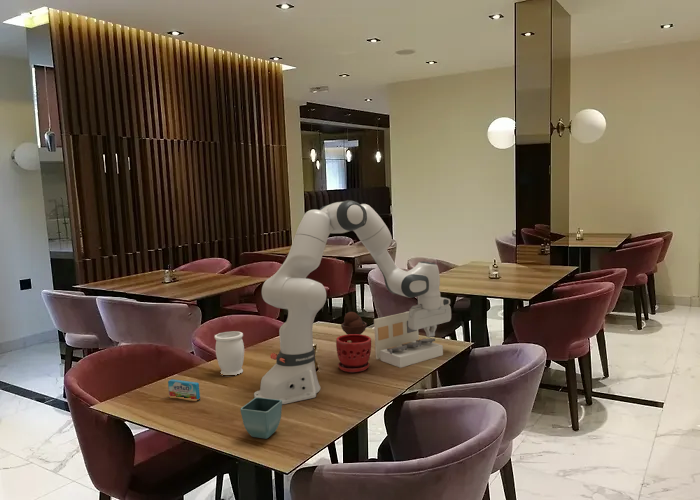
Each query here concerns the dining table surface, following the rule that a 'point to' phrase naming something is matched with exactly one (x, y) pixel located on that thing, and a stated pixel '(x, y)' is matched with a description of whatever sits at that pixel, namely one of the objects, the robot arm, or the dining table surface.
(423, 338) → the switch far
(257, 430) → the flower pot
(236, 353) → the jar
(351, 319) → the ice cream bowl
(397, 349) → the switch near
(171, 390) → the blue printed box
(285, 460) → the dining table surface
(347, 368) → the plant pot
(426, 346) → the switch unit
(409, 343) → the switch middle
